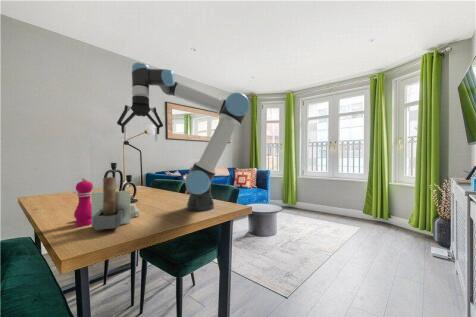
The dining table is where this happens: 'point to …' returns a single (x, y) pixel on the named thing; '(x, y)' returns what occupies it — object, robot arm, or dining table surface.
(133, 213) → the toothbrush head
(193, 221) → the dining table surface
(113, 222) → the grey card holder
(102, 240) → the dining table surface
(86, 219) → the pepper mill
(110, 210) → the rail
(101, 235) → the dining table surface
